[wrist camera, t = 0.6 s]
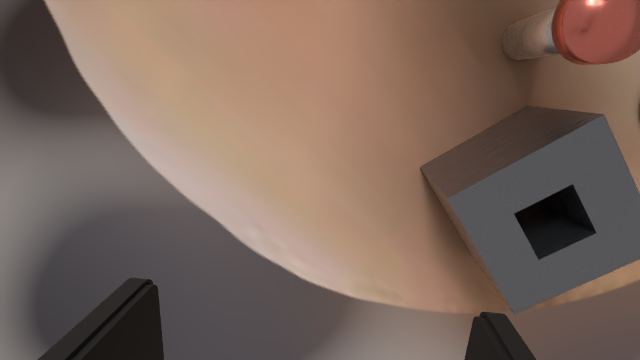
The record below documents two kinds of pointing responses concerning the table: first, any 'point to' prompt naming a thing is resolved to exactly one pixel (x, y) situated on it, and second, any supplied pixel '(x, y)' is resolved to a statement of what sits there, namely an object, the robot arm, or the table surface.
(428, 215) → the table surface
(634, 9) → the lynch pin
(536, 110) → the block
